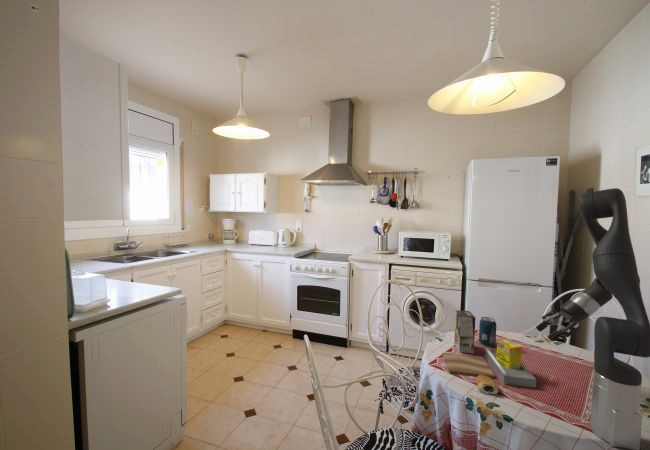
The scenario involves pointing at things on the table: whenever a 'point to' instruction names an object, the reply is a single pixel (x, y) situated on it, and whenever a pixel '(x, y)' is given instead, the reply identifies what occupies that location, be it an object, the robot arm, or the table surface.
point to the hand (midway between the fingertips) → (543, 334)
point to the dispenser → (510, 372)
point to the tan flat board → (467, 365)
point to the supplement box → (509, 354)
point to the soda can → (487, 331)
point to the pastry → (486, 385)
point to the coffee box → (464, 331)
